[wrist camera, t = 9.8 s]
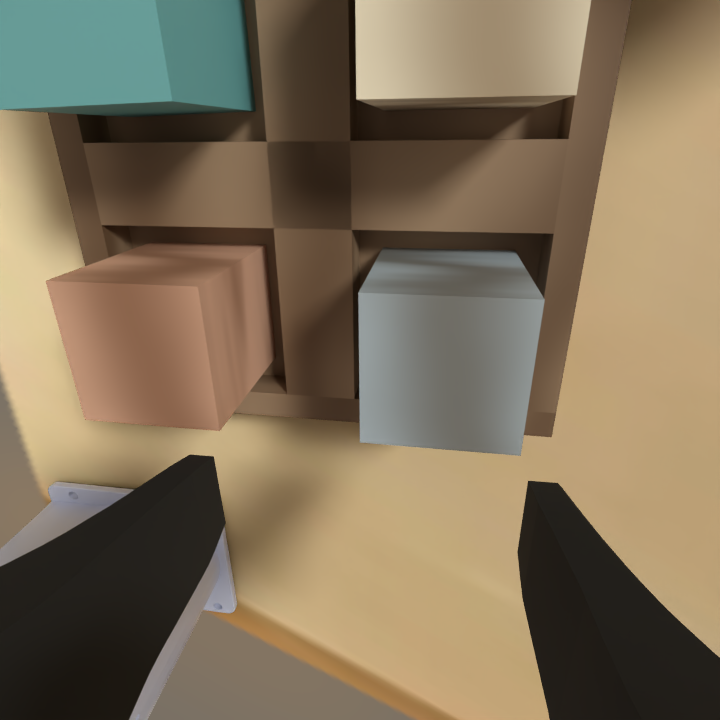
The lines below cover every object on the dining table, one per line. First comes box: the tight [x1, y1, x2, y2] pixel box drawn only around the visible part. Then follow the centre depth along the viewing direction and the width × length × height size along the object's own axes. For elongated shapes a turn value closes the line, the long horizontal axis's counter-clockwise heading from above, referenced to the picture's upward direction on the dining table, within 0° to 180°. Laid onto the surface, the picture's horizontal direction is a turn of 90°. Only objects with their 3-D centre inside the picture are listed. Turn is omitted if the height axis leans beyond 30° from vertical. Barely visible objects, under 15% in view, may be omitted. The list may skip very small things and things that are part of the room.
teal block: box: [0, 0, 256, 117], centre depth 13 cm, size 4×4×6 cm
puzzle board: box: [46, 0, 632, 456], centre depth 15 cm, size 17×17×6 cm
